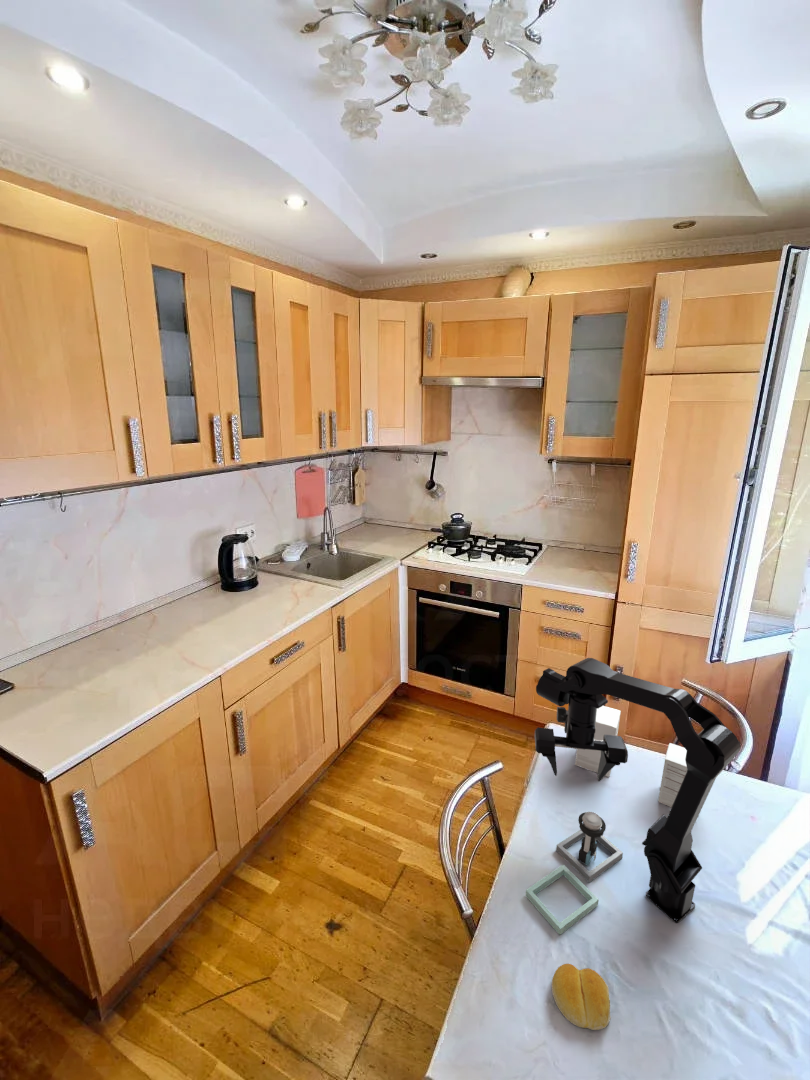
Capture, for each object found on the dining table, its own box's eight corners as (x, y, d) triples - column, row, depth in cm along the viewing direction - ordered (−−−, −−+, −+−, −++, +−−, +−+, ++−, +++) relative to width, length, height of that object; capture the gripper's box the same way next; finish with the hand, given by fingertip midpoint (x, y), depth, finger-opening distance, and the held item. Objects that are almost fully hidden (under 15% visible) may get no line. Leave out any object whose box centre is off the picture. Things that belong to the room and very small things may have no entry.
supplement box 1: (610, 778, 126) (616, 728, 122) (574, 765, 130) (579, 717, 126) (615, 757, 133) (621, 710, 129) (581, 746, 137) (586, 699, 134)
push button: (582, 837, 108) (586, 800, 106) (606, 851, 105) (612, 813, 102) (570, 857, 103) (575, 819, 101) (595, 872, 100) (601, 833, 97)
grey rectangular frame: (622, 858, 103) (622, 852, 103) (588, 882, 98) (589, 876, 98) (588, 829, 110) (589, 823, 110) (556, 850, 105) (556, 844, 105)
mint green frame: (597, 905, 93) (598, 899, 93) (559, 935, 88) (560, 928, 88) (562, 870, 101) (563, 864, 100) (525, 895, 95) (526, 889, 95)
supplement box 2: (662, 783, 124) (669, 741, 120) (695, 796, 120) (703, 753, 116) (656, 802, 118) (664, 758, 115) (691, 816, 114) (700, 771, 110)
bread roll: (550, 966, 84) (552, 948, 82) (605, 981, 81) (608, 963, 80) (551, 1022, 76) (554, 1004, 75) (613, 1041, 74) (616, 1022, 73)
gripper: (619, 699, 110) (613, 758, 114) (535, 691, 114) (531, 748, 118) (631, 729, 100) (624, 793, 103) (537, 719, 103) (534, 781, 107)
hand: (576, 777), depth 108 cm, fingers open, 9 cm apart
